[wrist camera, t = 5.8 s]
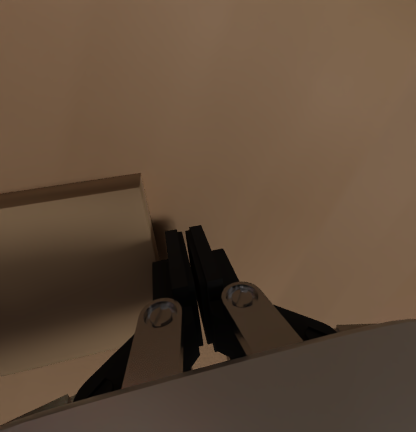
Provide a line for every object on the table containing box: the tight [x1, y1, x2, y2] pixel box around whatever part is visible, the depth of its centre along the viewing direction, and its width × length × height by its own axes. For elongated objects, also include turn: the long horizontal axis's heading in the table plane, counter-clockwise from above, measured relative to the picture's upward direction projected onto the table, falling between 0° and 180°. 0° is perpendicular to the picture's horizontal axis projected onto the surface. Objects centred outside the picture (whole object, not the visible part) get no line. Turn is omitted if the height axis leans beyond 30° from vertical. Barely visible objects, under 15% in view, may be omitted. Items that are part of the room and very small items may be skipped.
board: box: [0, 173, 160, 376], centre depth 12 cm, size 8×8×2 cm
